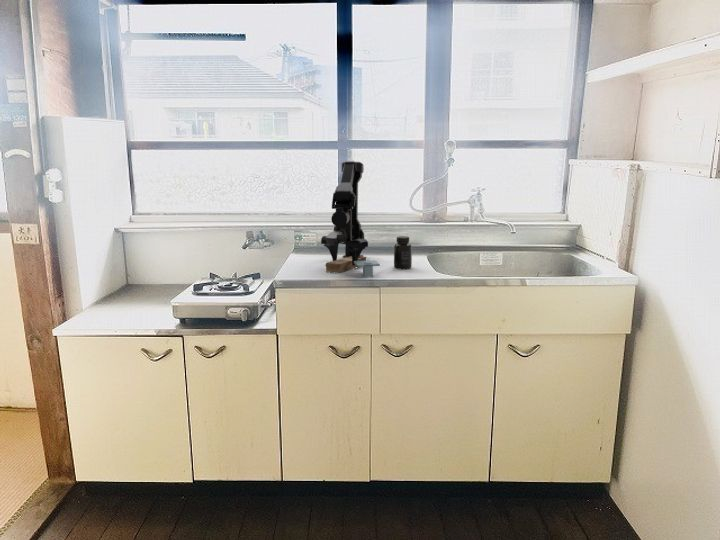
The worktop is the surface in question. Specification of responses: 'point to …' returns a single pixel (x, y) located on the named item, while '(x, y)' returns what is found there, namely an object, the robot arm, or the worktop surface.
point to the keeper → (367, 266)
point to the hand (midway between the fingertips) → (344, 263)
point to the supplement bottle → (402, 253)
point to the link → (342, 264)
